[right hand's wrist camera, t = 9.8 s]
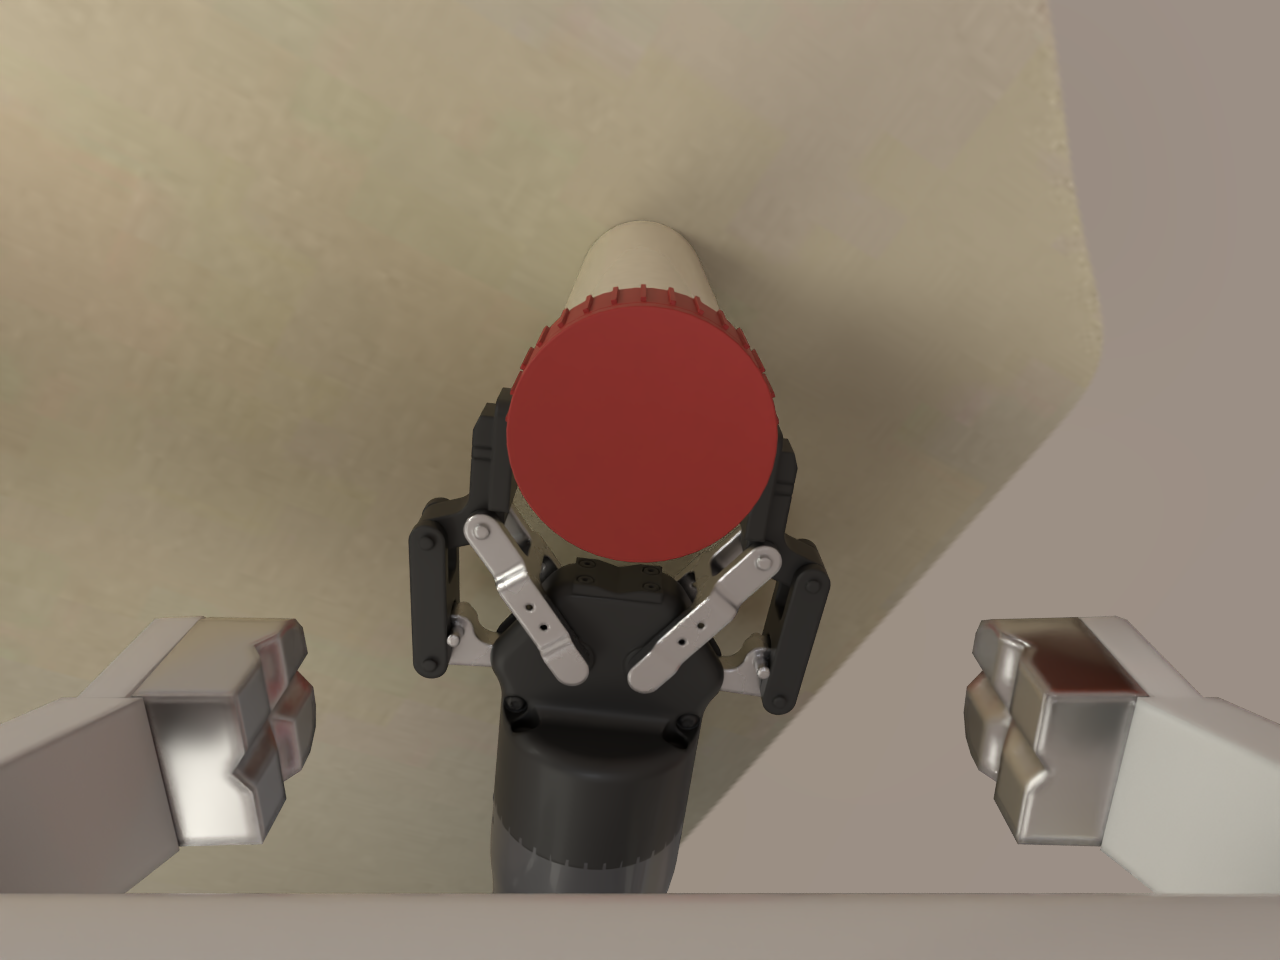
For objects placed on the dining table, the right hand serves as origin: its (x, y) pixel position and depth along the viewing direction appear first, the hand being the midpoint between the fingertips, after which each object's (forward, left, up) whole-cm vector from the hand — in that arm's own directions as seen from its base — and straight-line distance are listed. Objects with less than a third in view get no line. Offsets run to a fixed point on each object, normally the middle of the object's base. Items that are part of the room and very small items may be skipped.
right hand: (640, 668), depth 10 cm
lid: (0, 0, -8) cm, 8 cm away
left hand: (-2, -2, -19) cm, 20 cm away
